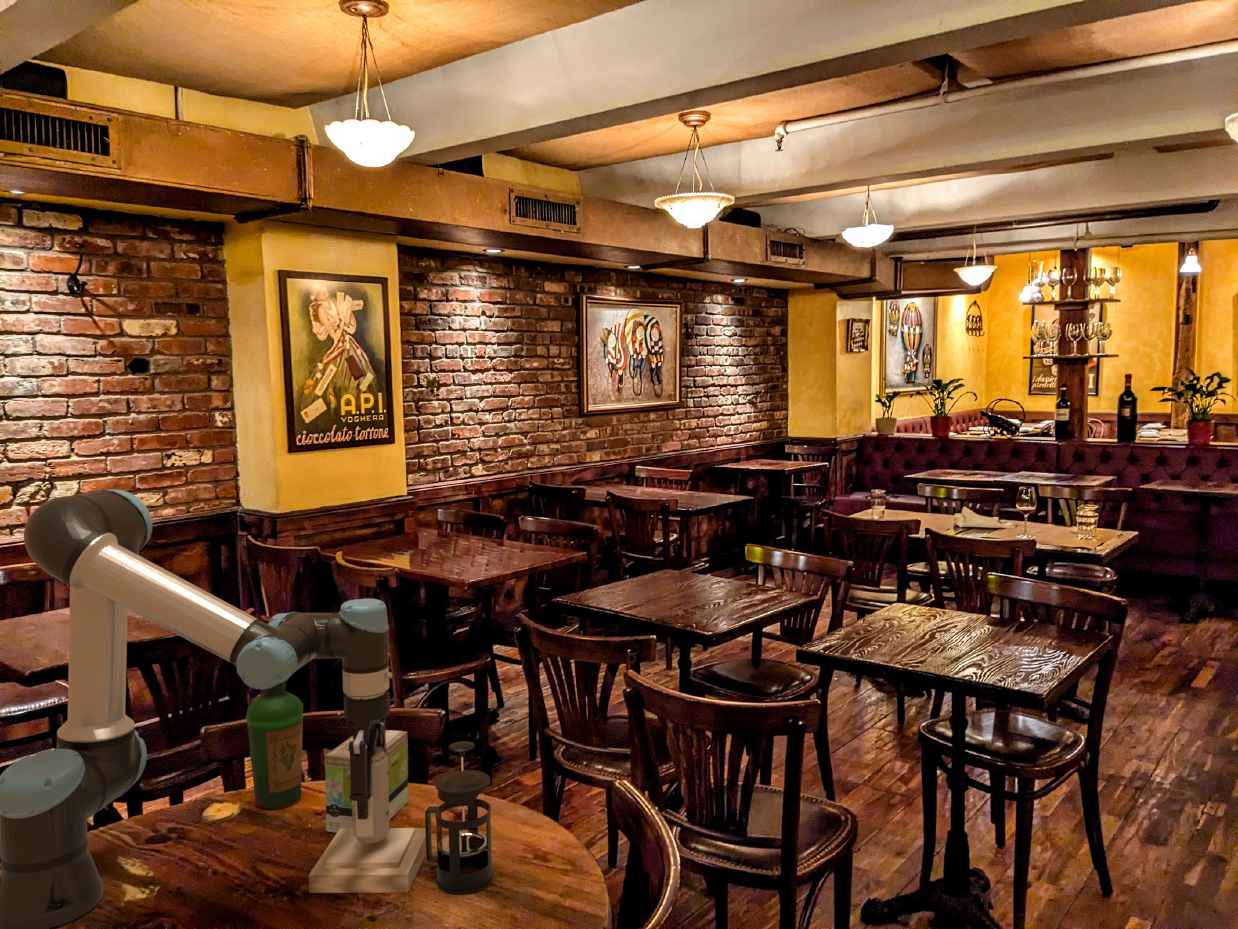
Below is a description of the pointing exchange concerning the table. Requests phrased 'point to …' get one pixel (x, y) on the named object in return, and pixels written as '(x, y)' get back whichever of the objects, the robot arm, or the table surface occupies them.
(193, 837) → the table surface
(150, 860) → the table surface
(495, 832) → the table surface
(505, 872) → the table surface
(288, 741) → the bottle
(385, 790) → the energy drink can
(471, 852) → the french press
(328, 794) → the tea box
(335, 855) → the birch base
